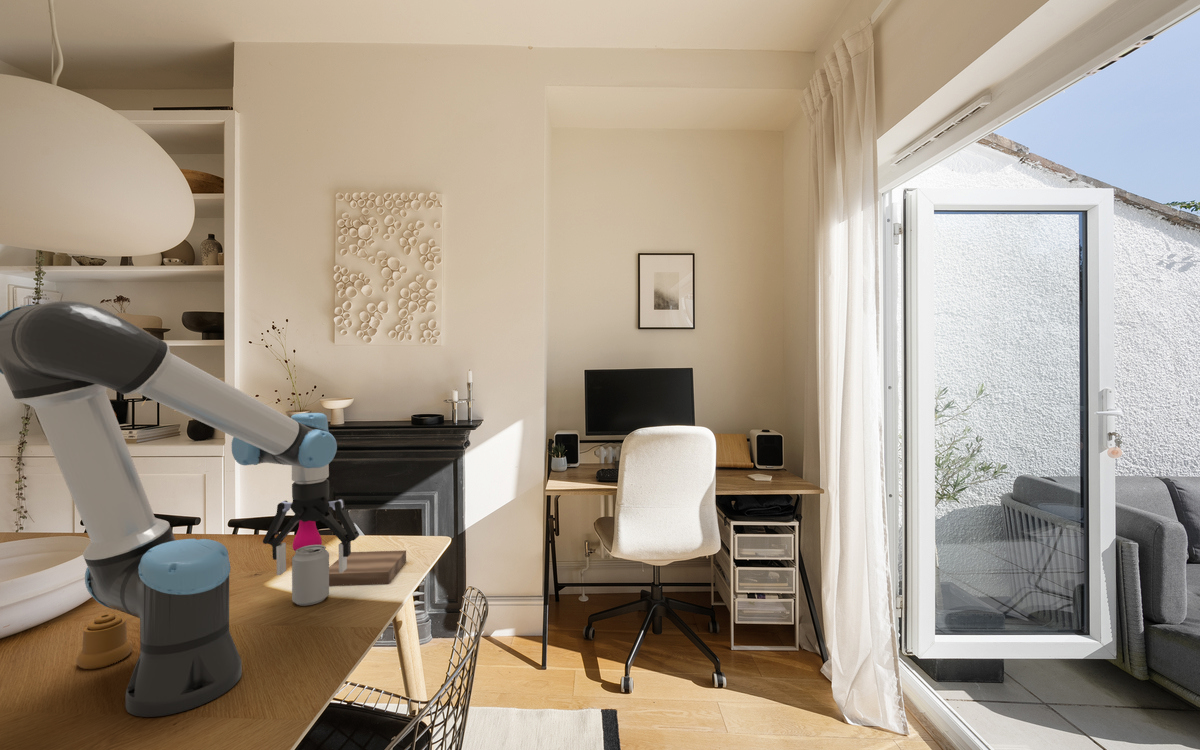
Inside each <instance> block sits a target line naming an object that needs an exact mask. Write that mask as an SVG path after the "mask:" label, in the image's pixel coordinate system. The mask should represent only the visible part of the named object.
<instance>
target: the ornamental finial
mask: <svg viewBox="0 0 1200 750" xmlns="http://www.w3.org/2000/svg"><path fill="white" fill-rule="evenodd" d="M132 650H133V642H132V641H131V639H129V638H128V632H127V619H126V618H125V617H123V616H121V615H118V614H115V613H104V614H101V615H98V616H96V617H95V618H94V620H92V621H90V622H89V623H88V624H87V625H86V626H85V627H84V628H83V633H82V649H81V651H79V653H78V654H77V657H76V665H77V666H78V667H79V668H81V669H84V670H95V669H100V668H105V667H108V666H107V665H109V666H111V665H110V664H112V665H114V664H117V663H118V661H119V662H121V661H123V660H124V659H125V658H127V657H128V656H129V655H130V654H131V652H132ZM120 660H121V661H120ZM116 662H117V663H116ZM113 663H114V664H113Z"/></svg>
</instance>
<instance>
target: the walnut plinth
mask: <svg viewBox="0 0 1200 750" xmlns="http://www.w3.org/2000/svg"><path fill="white" fill-rule="evenodd" d="M405 561H406V562H407V550H406V549H405V550H376V551H371V550H370V551H351V553H350V555H349V556H348V557H347V569H346V570H345V571H344V572H343V573H339V558H337V560H336V561H335V562H334V563H332V564H331V565H329V587H336V586H340V587H341V586H366V585H367V586H368V585H371V586H373V585H389V584H390V583H391V581H393V579H394V578H395V576H396V575H397V574H398V572H399V571H400V570H401V569H402V567H403V566H404V565H405V563H406V562H405Z"/></svg>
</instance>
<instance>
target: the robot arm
mask: <svg viewBox="0 0 1200 750" xmlns="http://www.w3.org/2000/svg"><path fill="white" fill-rule="evenodd" d="M0 374H2V375H3V376H4V378H5V380H6V383H7V385H8V387H9V389H10V391H11V393H12V395H13V399H14V401H16V402H19V403H21V404H25V405H28V406H30V407H32V408H33V409H34V412H35V414H36V416H37V418H38V421H39V423H40V425H41V429H42V430H43V432H44V435H45V437H46V440H47V442H48V444H49V446H50V449H51V451H52V453H53V456H54V459H55V461H56V464H57V466H58V467H59V470H60V472H61V474H62V477H63V479H64V481H65V484H66V486H67V489H68V491H69V493H70V495H71V499H72V500H73V503H74V505H75V507H76V509H77V512H78V515H79V517H80V519H81V522H82V523H83V526H84V528H85V531H86V533H87V535H88V538H89V540H90V541H89V543H88V545H87V546H86V548H85V549H84V550H83V552H82V557H83V559H84V562H85V563H86V565H87V567H86V568H85V569H86V570H85V574H84V584H85V588H86V589H87V592H88V593H89V594H90V596H91V597H92V598H93V599H94V600H95V602H97V603H99V604H100V605H101V606H102V605H103V606H104V607H106V608H108V609H112V610H116V611H119V612H121V613H125V614H127V615H130V616H133V617H135V618H138V619H139V641H140V642H139V643H140V645H139V646H140V647H139V648H140V649H139V651H140V652H139V656H138V659H137V661H136V664H135V666H134V668H133V671H132V674H131V676H130V679H129V683H128V685H127V688H126V690H125V710H126V712H127V713H129V714H130V715H131V716H132V715H133V716H135V717H140V718H141V717H142V718H151V717H152V718H153V717H162V716H163V717H164V716H169V715H174V714H177V713H182V712H185V711H189V710H191V709H195V708H197V707H198V708H199V706H203V705H205V704H207V703H209V702H211V701H214V700H215V699H218V698H219V697H221V696H222V695H224V694H225V693H227V692H228V691H230V690H231V689H232V688H233V687H234V686H236V685H237V684H238V682H239V680H240V679H241V678H242V674H243V673H242V671H243V670H242V668H243V665H242V658H241V656H240V654H239V652H238V651H239V650H238V648H237V646H236V644H235V642H234V639H233V637H232V635H231V631H230V573H231V562H230V556H229V551H228V549H227V547H226V546H225V545H224V543H221V542H219V541H217V540H214V539H208V538H201V539H196V538H185V539H184V538H183V539H177V540H176V537H175V535H174V532H173V530H172V527H171V525H170V522H169V521H167V520H165V519H161V518H157V517H155V515H154V512H153V509H152V506H151V504H150V502H149V498H148V497H147V493H146V491H145V487H144V486H143V483H142V481H141V478H140V475H139V472H138V471H137V468H136V465H135V463H134V461H133V458H132V455H131V452H130V449H129V448H128V447H129V446H128V445H127V442H126V440H125V436H124V435H123V431H122V429H121V427H120V423H119V421H118V418H117V417H116V413H115V411H114V408H113V406H112V403H111V401H110V398H109V396H108V393H107V391H108V389H110V390H113V391H116V392H118V393H120V394H122V395H126V396H127V395H132V394H139V395H141V396H143V397H145V398H147V399H150V400H151V401H154V402H156V403H159V404H161V405H164V406H165V407H168V408H169V409H172V410H174V411H176V412H178V413H180V414H183V415H184V416H187V417H189V418H192V419H194V420H196V421H198V422H201V423H203V424H205V425H207V426H209V427H211V428H213V429H216V430H218V431H220V432H222V433H225V434H228V435H229V436H231V437H232V440H231V454H232V456H233V459H234V460H235V461H236V462H237V464H239V465H241V466H251V465H254V466H256V465H259V464H267V463H268V464H274V465H283V466H284V465H286V466H291V481H293V483H292V484H291V496H292V497H291V498H292V502H288V500H283V501H281V502H279V503H278V504H277V507H276V514H275V515H274V517H273V520H272V522H271V524H270V526H269V528H268V530H267V532H266V534H265V536H264V538H263V539H262V543H263V544H264V545H271V548H272V560H274V561H276V576H281V575H283V574H284V573H285V572H287V548H286V547H287V546H286V545H287V544H286V543H287V542H284V540H285V538H286V537H287V536H288V535H289V534H290V532H291V531H292V530H293V529H295V526H297V524H299V521H300V520H301V521H302V522H307V521H315V522H317V521H320V522H321V523H322V524H324V525H325V526H326V527H327V528H328V529H329V530H330V531H331V532H332V533H333V534H334V536H335V537H337V538H338V540H339V541H340V542H339V544H338V559H339V573H343V572H344V571H345V570H346V569H347V557H348V556H349V555H350V553H351V552H352V551H351V550H352V547H351V542H353V541H356V539H357V538H358V537H359V536H360V533H359V531H358V529H357V527H356V526H355V523H354V522H353V520H352V518H351V516H350V515H349V513H348V511H347V509H346V505H345V500H344V499H343V498H340V499H338V500H332V501H331V499H330V480H329V479H327V478H329V476H330V471H329V470H330V469H329V468H330V467H329V466H330V465H329V464H330V463H331V462H332V461H333V460H334V458H335V456H336V454H337V450H338V445H337V440H336V438H335V436H333V434H332V433H330V431H329V422H328V417H327V414H325V413H323V412H303V413H301V412H300V413H294V414H292V415H291V416H288V415H286V414H284V413H282V412H280V411H279V410H277V409H274V408H273V407H271V406H269V405H267V404H265V403H264V402H262V401H260V400H258V399H256V398H255V397H252V395H249V394H247V393H245V392H244V391H242V390H240V389H238V388H236V387H234V386H232V385H230V384H229V383H228V382H225V381H223V380H221V379H219V378H217V377H216V376H214V375H212V374H210V373H209V372H206V371H205V370H203V369H201V368H199V367H197V366H195V365H194V364H192V363H190V362H188V361H186V360H184V359H183V358H182V357H181V358H180V357H179V356H177V355H175V354H173V353H171V350H170V345H169V344H168V343H167V342H165V341H164V340H162V339H159V338H158V337H156V336H154V335H152V334H151V333H149V332H147V331H146V330H144V329H142V328H141V327H139V326H137V325H135V324H133V323H131V322H130V321H128V320H125V319H124V318H122V317H121V316H119V315H117V314H115V313H112V312H111V311H109V310H106V309H104V308H101V307H99V306H97V305H93V304H89V303H87V302H86V303H85V302H82V301H72V300H61V301H60V300H59V301H54V302H49V303H40V304H26V305H22V306H17V307H14V308H12V309H10V310H7V311H5V312H2V313H1V314H0ZM330 508H332V510H333V511H335V514H336V516H337V518H338V520H339V522H340V523H341V524H340V523H339V522H338V521H337V520H336V518H334V517H333V514H332V513H331V512H330V511H329V510H330ZM290 509H291V511H292V512H293V513H294V515H293V516H292V517H291V519H289V521H288V523H287V524H286V525H285V526H284V527H283V529H282V530H281V531H280V532H279V533H278V531H279V529H280V527H281V525H282V523H283V521H284V519H285V517H286V515H287V513H288V512H289V511H290ZM276 535H277V536H276Z"/></svg>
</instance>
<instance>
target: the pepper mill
mask: <svg viewBox="0 0 1200 750" xmlns="http://www.w3.org/2000/svg"><path fill="white" fill-rule="evenodd" d="M316 522H317V521H307V522H302V521H301V520H300V521H299V522H298V529H297V531H296V534H295V537H294V538H293V541H292V550H293V551H294V552H295V551H296V550H297V549H299V548H301V547H305V546H310V545H323V540H322V537H321V533H319V530H318V528H317V525H316V524H317V523H316Z"/></svg>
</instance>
